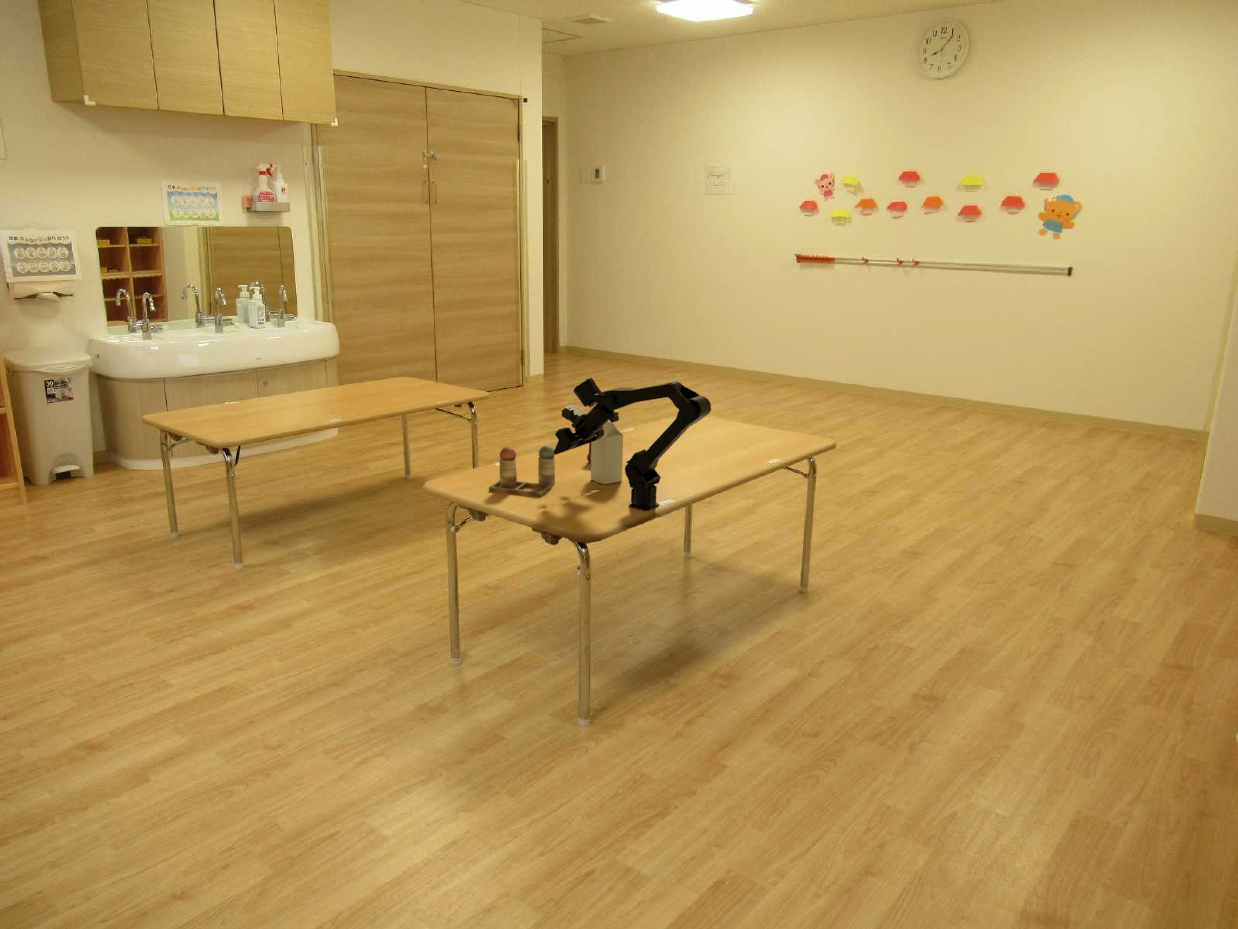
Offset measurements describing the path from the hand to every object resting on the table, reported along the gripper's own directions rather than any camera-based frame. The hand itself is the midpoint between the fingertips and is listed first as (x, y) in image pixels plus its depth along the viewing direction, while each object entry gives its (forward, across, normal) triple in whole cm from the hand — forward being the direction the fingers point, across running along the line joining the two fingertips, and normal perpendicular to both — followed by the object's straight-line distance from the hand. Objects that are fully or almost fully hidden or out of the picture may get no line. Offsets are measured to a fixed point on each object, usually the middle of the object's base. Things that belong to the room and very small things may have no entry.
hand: (563, 450), depth 268 cm
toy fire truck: (+13, -33, +4) cm, 36 cm away
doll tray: (+15, +10, +3) cm, 18 cm away
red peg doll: (+17, +11, -1) cm, 20 cm away
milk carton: (+5, -16, +13) cm, 21 cm away
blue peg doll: (+13, 0, +4) cm, 14 cm away
